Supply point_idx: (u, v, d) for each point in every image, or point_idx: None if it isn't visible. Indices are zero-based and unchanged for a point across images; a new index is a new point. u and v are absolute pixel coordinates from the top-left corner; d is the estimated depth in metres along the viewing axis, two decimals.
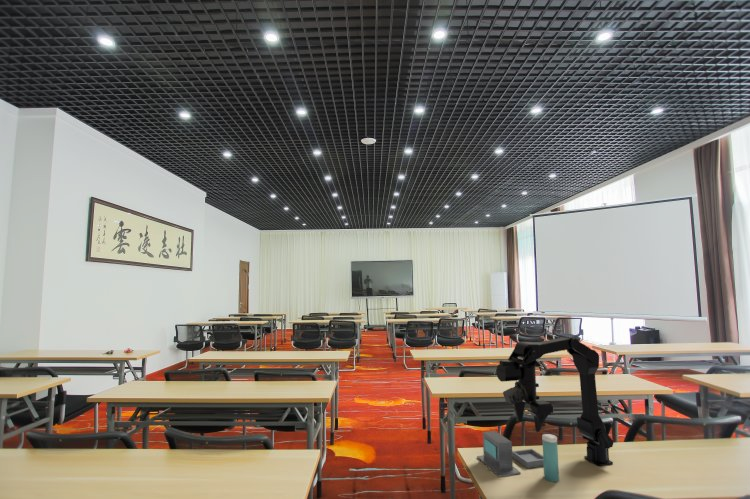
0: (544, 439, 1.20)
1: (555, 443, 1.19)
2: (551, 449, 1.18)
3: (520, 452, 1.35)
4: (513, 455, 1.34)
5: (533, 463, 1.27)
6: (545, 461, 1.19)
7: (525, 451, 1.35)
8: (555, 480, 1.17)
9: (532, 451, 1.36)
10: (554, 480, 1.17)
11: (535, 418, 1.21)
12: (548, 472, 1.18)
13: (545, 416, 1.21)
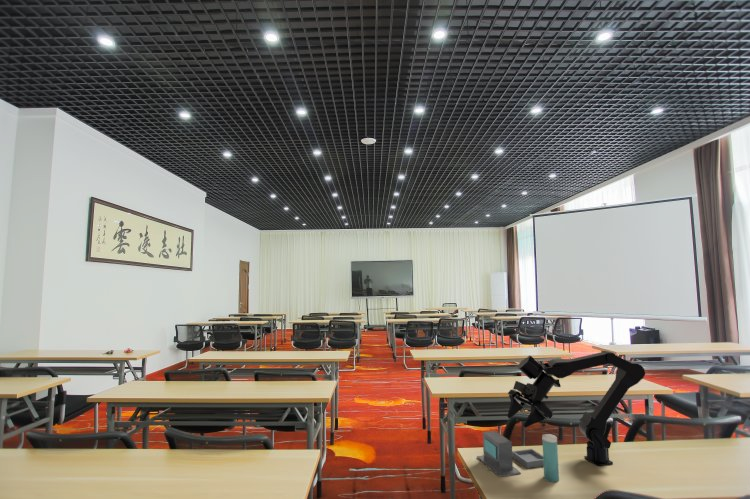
0: (544, 439, 1.20)
1: (555, 443, 1.19)
2: (551, 449, 1.18)
3: (520, 452, 1.35)
4: (513, 455, 1.34)
5: (533, 463, 1.27)
6: (545, 461, 1.19)
7: (525, 451, 1.35)
8: (555, 480, 1.17)
9: (532, 451, 1.36)
10: (554, 480, 1.17)
11: (531, 414, 1.28)
12: (548, 473, 1.18)
13: (539, 419, 1.28)
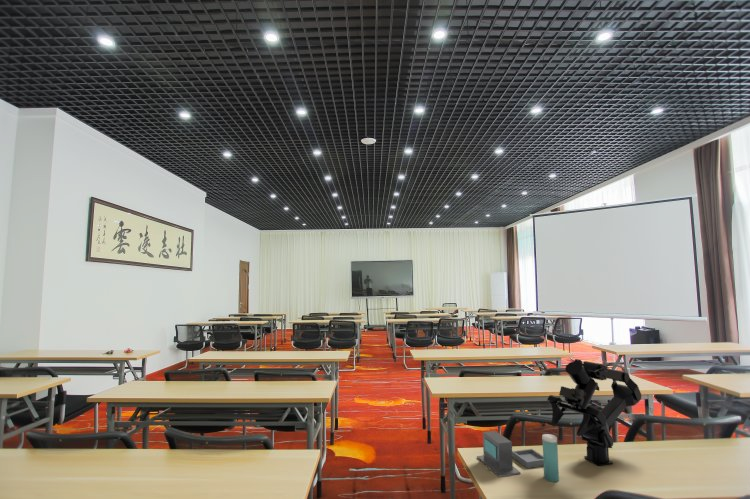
0: (544, 439, 1.20)
1: (555, 443, 1.19)
2: (551, 449, 1.18)
3: (520, 452, 1.35)
4: (513, 455, 1.34)
5: (533, 463, 1.27)
6: (545, 461, 1.19)
7: (525, 451, 1.35)
8: (555, 480, 1.17)
9: (532, 451, 1.36)
10: (554, 480, 1.17)
11: (584, 421, 1.21)
12: (548, 472, 1.18)
13: (591, 426, 1.22)
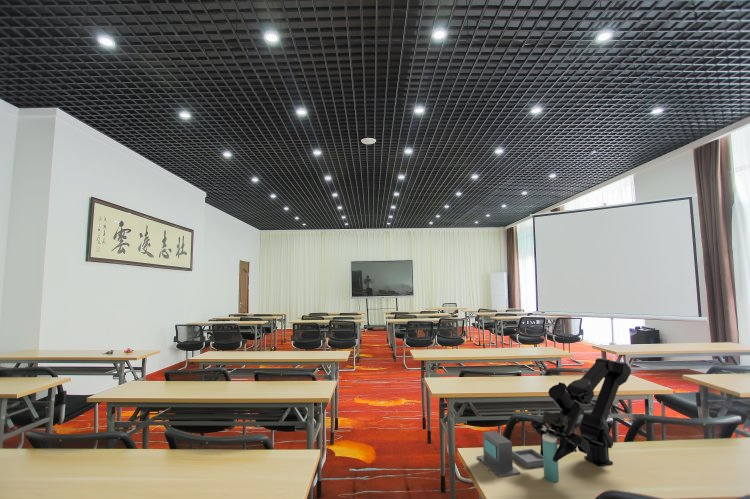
0: (544, 439, 1.20)
1: (555, 443, 1.19)
2: (551, 449, 1.18)
3: (520, 452, 1.35)
4: (513, 455, 1.34)
5: (533, 463, 1.27)
6: (545, 461, 1.19)
7: (525, 451, 1.35)
8: (555, 480, 1.17)
9: (532, 451, 1.36)
10: (554, 480, 1.17)
11: (560, 446, 1.18)
12: (548, 472, 1.18)
13: (569, 452, 1.18)
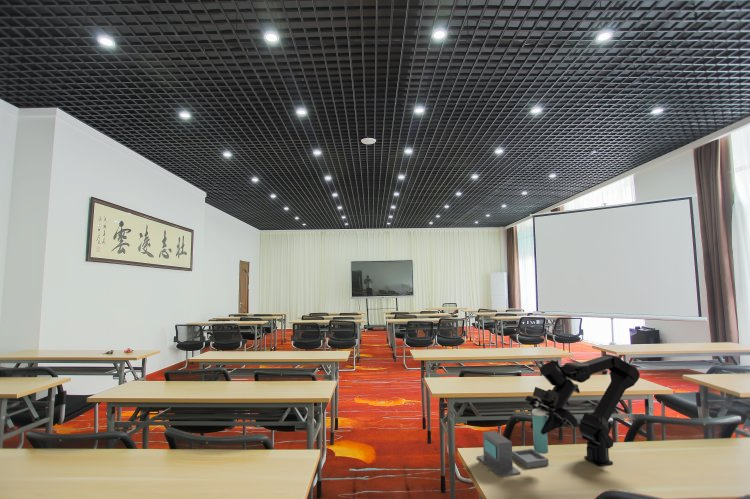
0: (533, 413, 1.25)
1: (543, 417, 1.23)
2: (539, 422, 1.23)
3: (520, 452, 1.35)
4: (513, 455, 1.34)
5: (533, 463, 1.27)
6: (534, 434, 1.24)
7: (525, 451, 1.35)
8: (543, 452, 1.22)
9: (532, 451, 1.36)
10: (542, 452, 1.22)
11: (548, 420, 1.22)
12: (536, 445, 1.23)
13: (557, 426, 1.22)
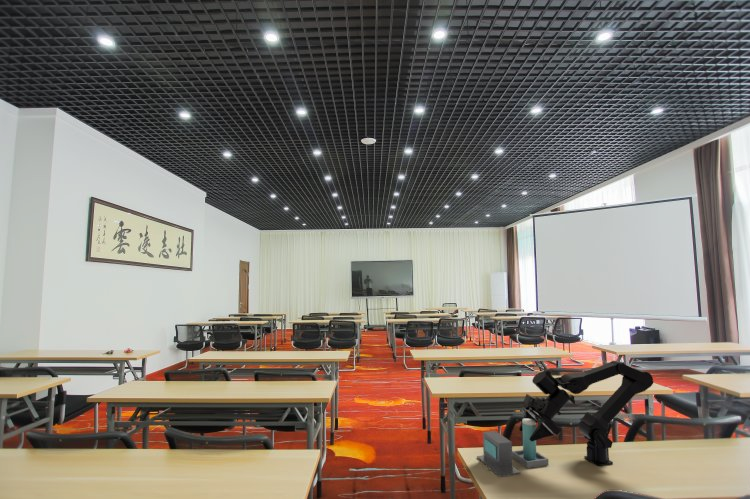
0: (522, 421, 1.33)
1: (531, 426, 1.31)
2: (526, 431, 1.31)
3: (520, 452, 1.35)
4: (513, 455, 1.34)
5: (533, 463, 1.27)
6: (523, 441, 1.32)
7: None
8: (530, 459, 1.29)
9: None
10: (529, 459, 1.30)
11: (537, 428, 1.27)
12: (524, 451, 1.31)
13: (546, 435, 1.26)
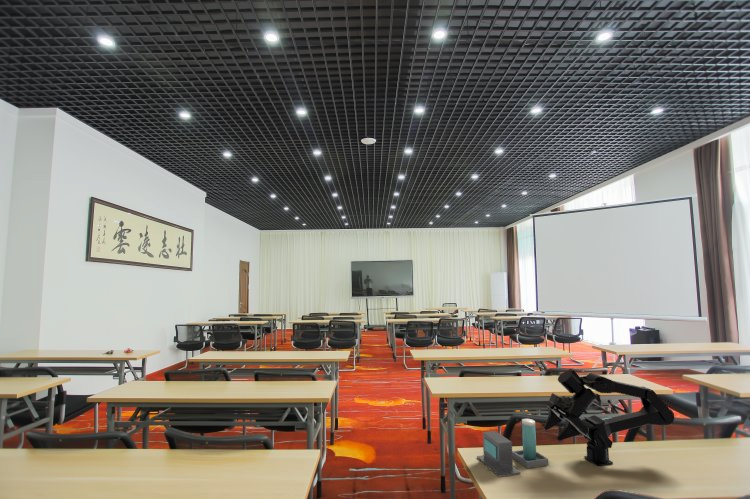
0: (522, 422, 1.33)
1: (530, 427, 1.30)
2: (526, 431, 1.31)
3: (520, 452, 1.35)
4: (513, 455, 1.34)
5: (533, 463, 1.27)
6: None
7: None
8: (530, 460, 1.29)
9: None
10: (529, 459, 1.30)
11: (565, 427, 1.27)
12: (524, 452, 1.31)
13: (574, 434, 1.26)
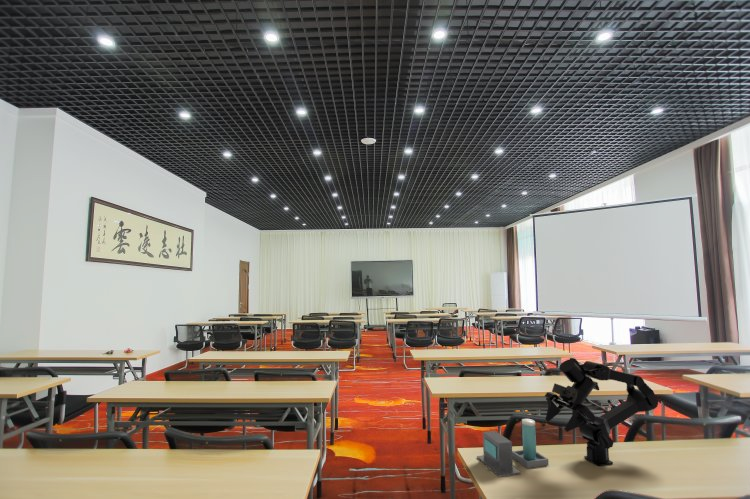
0: (522, 422, 1.33)
1: (530, 427, 1.30)
2: (526, 431, 1.31)
3: (520, 452, 1.35)
4: (513, 455, 1.34)
5: (533, 463, 1.27)
6: None
7: None
8: (530, 460, 1.29)
9: None
10: (529, 459, 1.30)
11: (572, 418, 1.24)
12: (524, 452, 1.31)
13: (581, 423, 1.24)
